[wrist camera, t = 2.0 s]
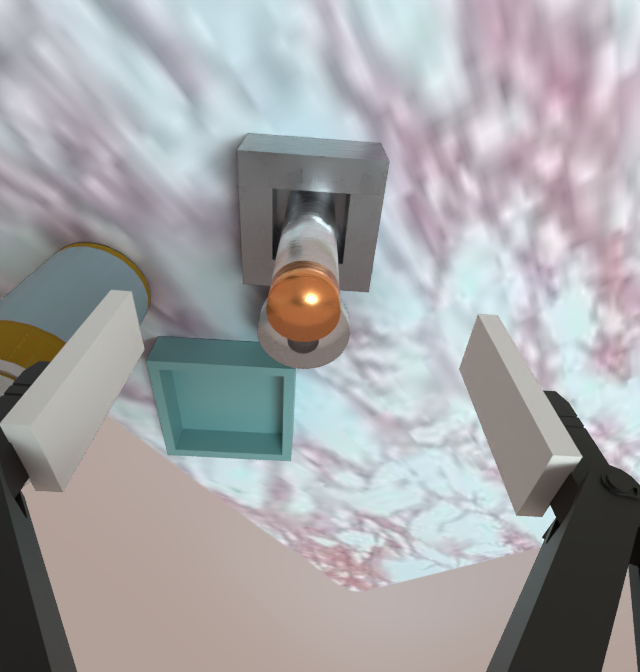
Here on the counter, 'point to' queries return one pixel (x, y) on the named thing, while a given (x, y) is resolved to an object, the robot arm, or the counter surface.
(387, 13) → the counter surface
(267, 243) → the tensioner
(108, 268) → the bottle
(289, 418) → the tray
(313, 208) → the pin
